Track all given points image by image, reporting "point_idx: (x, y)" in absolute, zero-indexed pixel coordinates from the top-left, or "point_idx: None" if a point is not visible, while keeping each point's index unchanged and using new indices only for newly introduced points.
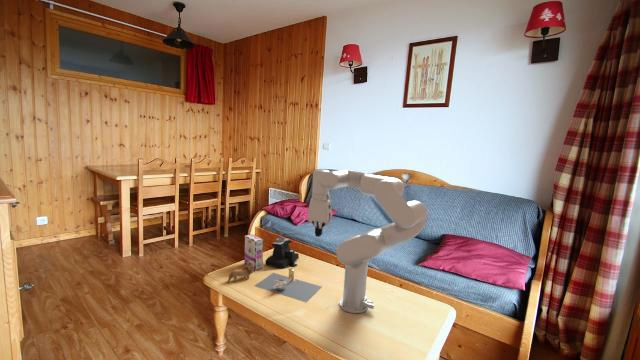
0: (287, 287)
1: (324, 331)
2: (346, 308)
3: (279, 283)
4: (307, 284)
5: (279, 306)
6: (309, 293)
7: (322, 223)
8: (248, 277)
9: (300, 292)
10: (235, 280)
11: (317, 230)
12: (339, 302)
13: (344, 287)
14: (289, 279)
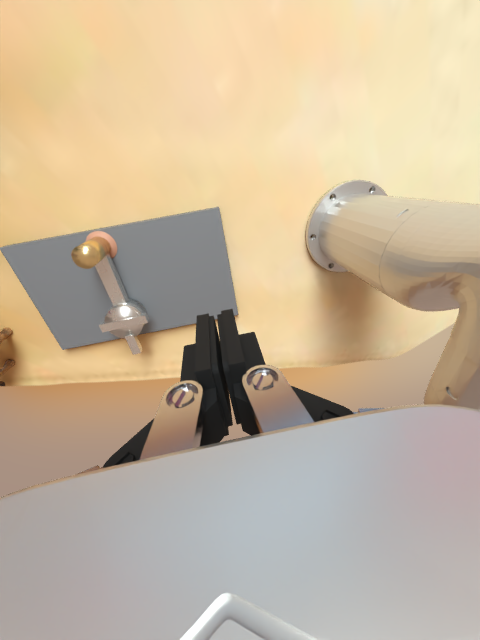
0: (138, 293)
1: (322, 353)
2: (340, 268)
3: (129, 330)
4: (168, 232)
5: None
6: (214, 275)
7: (280, 426)
8: (2, 341)
9: (190, 288)
10: (2, 373)
11: (229, 402)
12: (312, 255)
13: (352, 272)
14: (113, 273)
